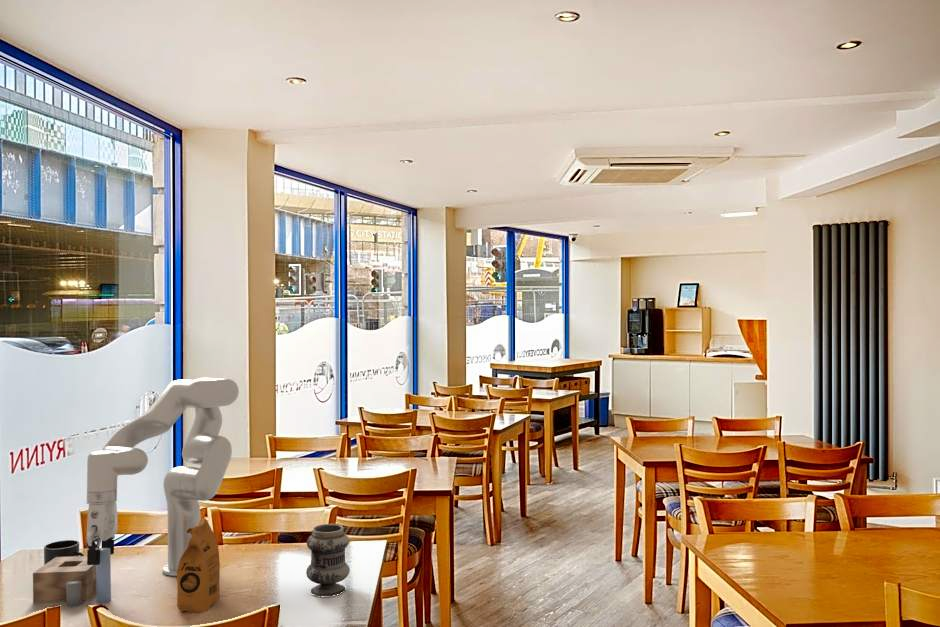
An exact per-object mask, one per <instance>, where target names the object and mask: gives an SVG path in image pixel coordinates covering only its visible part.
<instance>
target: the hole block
mask: <svg viewBox="0 0 940 627" xmlns="http://www.w3.org/2000/svg"><path fill="white" fill-rule="evenodd" d="M74 580H80V581H81V601H87V600H88V599H89V598H91V596H93V595H94V594H95V593H96V565H87V555H84V556H80V555H79V556H72V557H55V558H54V559H52V560H51V561H50V562H48V563H47V564H45V565H44V564H43V566H41V567H40V568H38V569H36V570H35V571H34V572H32V602H33V603H46V602H67V595H66V583H67V582H70V581H74Z"/></svg>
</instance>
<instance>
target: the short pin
mask: <svg viewBox="0 0 940 627" xmlns="http://www.w3.org/2000/svg"><path fill="white" fill-rule="evenodd" d="M66 595H67V601H66V607H68V608H74V606H76V607H78V605H79V606H80V605H82V604H81V603H82V601H83V600H81V581H80V580H74V581H70V582H67V583H66Z"/></svg>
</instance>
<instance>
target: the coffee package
mask: <svg viewBox="0 0 940 627" xmlns="http://www.w3.org/2000/svg"><path fill="white" fill-rule="evenodd" d="M187 533H191V535H192V537H191V539H190V541H189V544H188V547H187V549H186V550H185V552H184V553H183V555H182V557H181V558H180V561H179V564H178V569H177V576H176V580H177V581H176V583H177V595H176V596H177V599H176V600H177V602H176V606H177V608H178V611H179V612H181V613H182V612H189V613H193V612H195V613H200V612H201V613H204V612H203V611H205V612H208V610H210V608H211V606H213V605H215V604H217V603H218V601H219V598H220V596H221V594H220V593H221V592H220V591H221V590H220V577H221V576H220V575H221V574H220V569H221V564H220V563H221V562H220V552H219V551H220V550H219V543H218V539H217V536H216V534H215V532H214V531H213V529H212V528H211V526H210V524H209V523H208V521H207V518H205V517H203V518H200V521H199V526H195V527H192V528H189V529H188V530H187Z"/></svg>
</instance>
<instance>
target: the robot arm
mask: <svg viewBox="0 0 940 627" xmlns="http://www.w3.org/2000/svg"><path fill="white" fill-rule="evenodd" d="M239 393H240V392H239V386H238V385H237V383H236V381H234V380H233V379H230V378H222V377H221V378H220V377H219V378H218V377H216V378H215V377H200V378H199V377H198V378H196V379H177V380H173V381H171V382H170V383H168V385H167V386H166V387H165V388H164V390H163V391H162V392H161V393H160V395H159V396H158V397H157V398H156V399H155V401H153V403H152V404H151V405H150V406H149V408H148V409H147V410H146V412H144V414H142V415H140V416H139V417H137V418H135V419H133V420H132V421H131V422H129V423H127V424H126V425H125V426H123V427H121V428H120V429H119V430H118V431H116V432H115V433H114V434H113V435H112V437H111V438H110V439H109V440H108V441H107V443H105V445H104V446H103V447H102V450H97V451H96V450H95V451H91V452H89V454H88V456H87V464H86V465H87V468H86V469H87V472H86V474H87V475H86V477H87V478H86V484H87V485H86V504H87V505H88V510H87V520H86V523H87V524H86V537H85V539H86V550H87V553H86V554H87V555H86V556H87V565H99V564H100V551H101V549H100V548H110V556H111V555H114V553H115V538H116V537H115V535H117V533H118V530H119V529H118V508H117V507H118V506H117V501H118V476H130V475H131V476H132V475H136V474H139V473H141V472H143V470H145V469H146V467H147V466H148V463H149V456H148V455H147V453H146V452H145V451H144V450H142V449H141V448H137V447H136V446H137V445H139V444H140V443H142V442H144V441H146V440H149V439H152V438H154V437H158V436H161V435H163V434H165V433H167V432H169V431H170V430H171V429H172V427H174V424H175V423H176V421H178V419H179V418H180V417H181V415H182V414H183V413H184V412H185V411H186V409H194V410H195V417H194V421H193V423H192V425H191V428H190V430H189V433H188V435H187V437H186V440H185V442H184V444H183V447H182V452H181V456H182V459H183V460H184V461H185V462H186V463H189V464H191V465H196V466H200V467H194V466H193V467H192V466H185V465H180V466H176V467H173V468H171V469H170V470H168V472H167V473H166V474H165V477H164V478H163V490H164V491H163V492H164V495H165V500H166V508H167V509H166V510H167V513H166V514H167V520H166V521H167V564H166V565H165V564H164V566H162V573H163V574H164V575H166V576H172V577H177V569H178V564H179V561H180V558H181V557H182V555H183V553H184V552H185V550H186V549H187V547H188V544H189V541H190V539H191V537H192V535H191V533H187V530H188V529H189V528H192V527H195V526H199V521H200V520H201V507H200V503H199V501H201V502H204V501H205V502H206V501H209V500H211V499H213V498H214V496H216V495H217V492H218V491H219V489H220V487H221V485H222V482H223V480H224V476H225V474H226V471H227V470H228V466H229V464H230V461H231V458H232V451H233V450H232V443H231V442H230V440H229V439H228V438H227V437H225V436H222V435H220V431H221V428H222V425H223V417H222V416H223V415H222V413H221V409H220V407H226V406H230V405H232V404H234V403H235V402H236V400H237V399H238V397H239Z"/></svg>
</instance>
